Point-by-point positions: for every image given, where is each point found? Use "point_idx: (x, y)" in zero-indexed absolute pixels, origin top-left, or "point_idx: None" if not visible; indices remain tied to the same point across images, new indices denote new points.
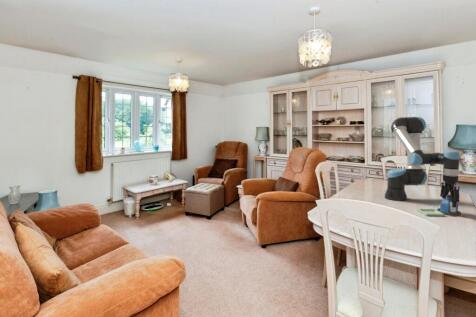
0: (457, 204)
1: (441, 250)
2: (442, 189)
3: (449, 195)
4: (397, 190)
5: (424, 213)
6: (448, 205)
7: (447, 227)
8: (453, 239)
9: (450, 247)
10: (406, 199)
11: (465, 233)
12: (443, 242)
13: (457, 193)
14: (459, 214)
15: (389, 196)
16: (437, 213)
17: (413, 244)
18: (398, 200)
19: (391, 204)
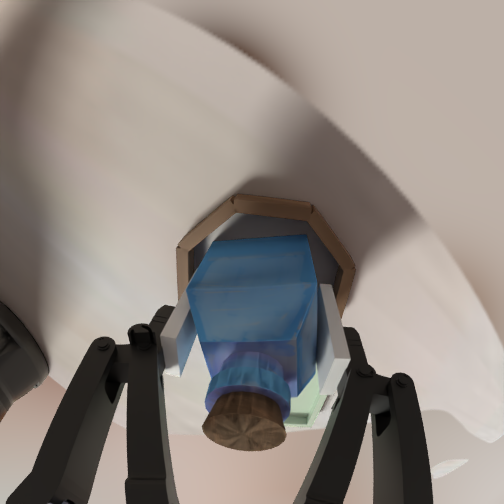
0: (314, 292)
1: (492, 437)
2: (99, 460)
3: (268, 444)
4: (11, 394)
5: (291, 422)
6: (314, 373)
7: (449, 403)
8: (492, 414)
9: (498, 426)
10: (15, 319)
11: (499, 377)
12: (484, 431)
13: (417, 484)
14: (349, 256)
15: (36, 387)
16: None
17: (455, 462)
18: (45, 362)
19: (119, 419)
